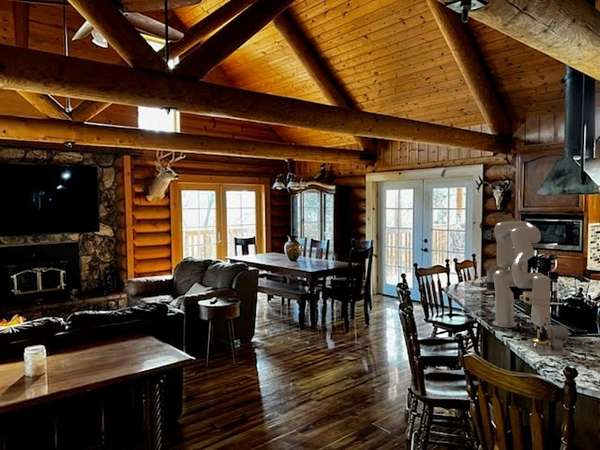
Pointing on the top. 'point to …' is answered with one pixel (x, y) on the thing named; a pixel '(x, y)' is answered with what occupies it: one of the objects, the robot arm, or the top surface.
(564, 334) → the ceramic mug
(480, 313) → the top surface
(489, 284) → the milk frother
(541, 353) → the carrier
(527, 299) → the character mug
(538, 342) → the brass door knob
